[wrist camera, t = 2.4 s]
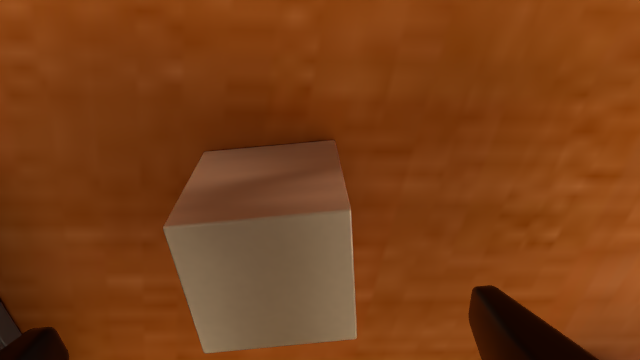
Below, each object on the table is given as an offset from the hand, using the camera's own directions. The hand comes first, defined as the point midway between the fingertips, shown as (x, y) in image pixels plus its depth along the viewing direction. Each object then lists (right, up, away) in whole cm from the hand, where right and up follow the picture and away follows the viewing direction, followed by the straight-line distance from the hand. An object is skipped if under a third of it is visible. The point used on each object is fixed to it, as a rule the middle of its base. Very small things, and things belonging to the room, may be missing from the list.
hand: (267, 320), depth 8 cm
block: (0, +2, +4) cm, 5 cm away
